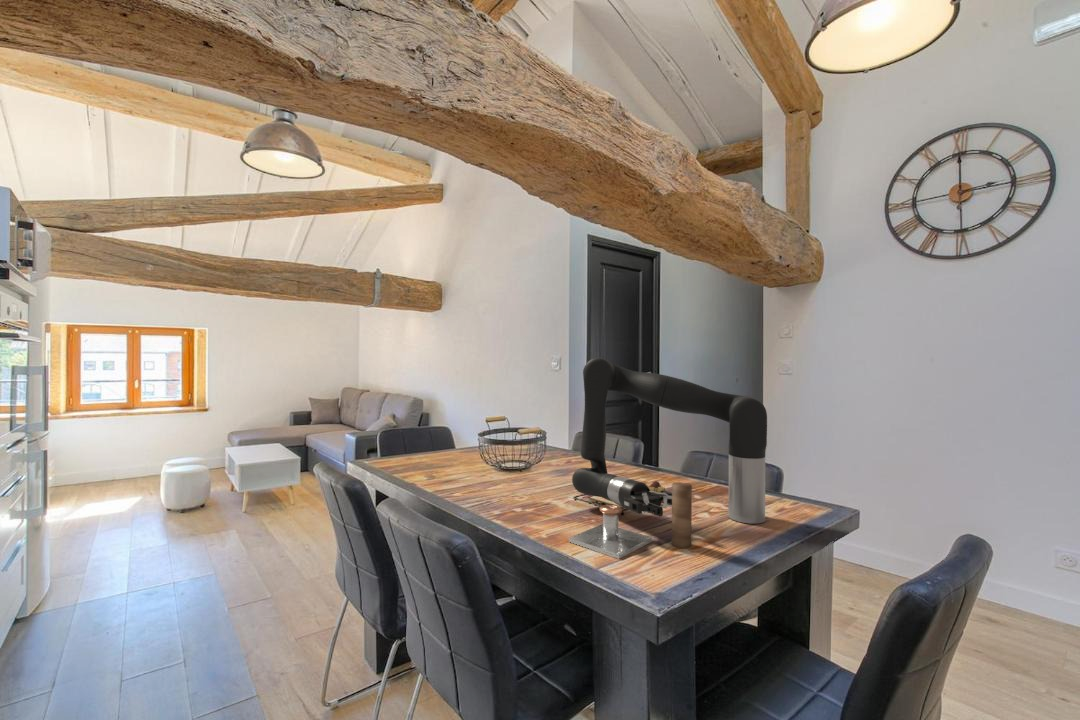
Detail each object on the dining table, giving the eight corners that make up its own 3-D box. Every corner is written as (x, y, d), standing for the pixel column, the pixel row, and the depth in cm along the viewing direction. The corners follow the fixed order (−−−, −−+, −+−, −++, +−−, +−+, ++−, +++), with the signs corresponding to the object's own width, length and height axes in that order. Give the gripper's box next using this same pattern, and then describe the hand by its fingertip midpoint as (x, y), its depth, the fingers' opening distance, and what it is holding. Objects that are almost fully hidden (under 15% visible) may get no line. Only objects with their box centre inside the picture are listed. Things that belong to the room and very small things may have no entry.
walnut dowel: (677, 539, 116) (677, 481, 116) (694, 544, 113) (695, 484, 113) (668, 544, 112) (668, 484, 112) (686, 550, 109) (686, 488, 109)
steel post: (603, 527, 124) (603, 496, 124) (652, 541, 114) (652, 507, 114) (568, 542, 114) (569, 508, 114) (618, 558, 104) (619, 521, 104)
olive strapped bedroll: (643, 475, 169) (672, 478, 166) (643, 488, 169) (672, 491, 165) (630, 485, 150) (663, 488, 146) (630, 500, 150) (663, 504, 146)
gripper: (607, 482, 124) (653, 497, 111) (647, 475, 132) (695, 489, 118) (607, 511, 124) (652, 530, 111) (647, 503, 132) (695, 520, 118)
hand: (674, 509), depth 114 cm, fingers open, 8 cm apart
